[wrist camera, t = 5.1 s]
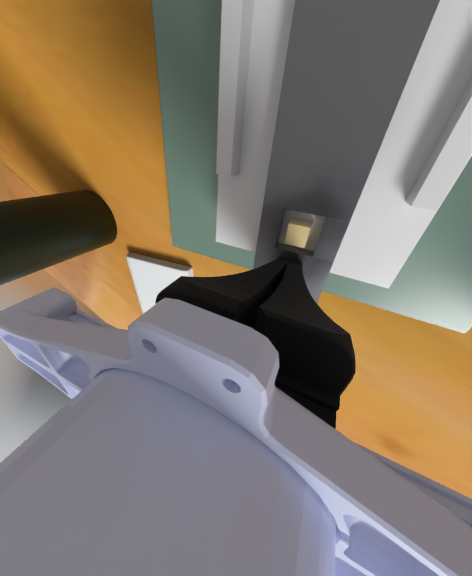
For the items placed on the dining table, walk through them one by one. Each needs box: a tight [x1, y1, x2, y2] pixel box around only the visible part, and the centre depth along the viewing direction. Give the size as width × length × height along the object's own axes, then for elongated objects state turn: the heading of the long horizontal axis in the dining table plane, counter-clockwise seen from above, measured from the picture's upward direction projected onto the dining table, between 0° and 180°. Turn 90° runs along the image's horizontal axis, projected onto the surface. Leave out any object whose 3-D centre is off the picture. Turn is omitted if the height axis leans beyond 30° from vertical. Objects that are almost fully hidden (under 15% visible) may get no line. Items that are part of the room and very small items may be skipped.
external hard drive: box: [126, 253, 194, 314], centre depth 26 cm, size 2×8×12 cm
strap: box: [253, 0, 440, 303], centre depth 8 cm, size 16×4×1 cm, turn 174°
